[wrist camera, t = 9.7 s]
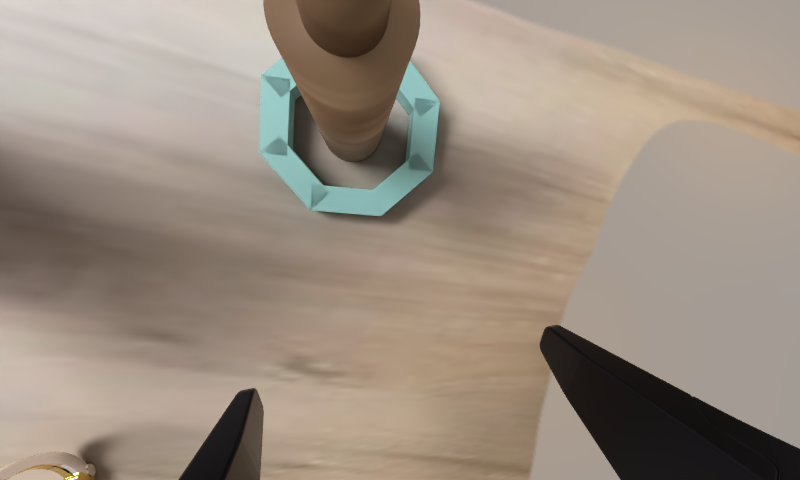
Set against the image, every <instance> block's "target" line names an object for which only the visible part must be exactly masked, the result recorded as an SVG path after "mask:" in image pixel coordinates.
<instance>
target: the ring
mask: <svg viewBox="0 0 800 480" xmlns="http://www.w3.org/2000/svg"><path fill="white" fill-rule="evenodd" d="M33 469H47V470H52V471H54V472H57V473H58V474H60V475H61V476H63V477H64V478H65V479H64V480H95V479H94V475H95V473H96V470H95V467H94V465H93V464H86V463H85V462H84V461H83V460H81V459H80V458H79V457H77V456H75V455H73V454H70V453H66V452H46V453H41V454H37V455H34V456H30V457H26V458H23V459H20V460H18V461H15V462H12V463H9V464H7V465H4V466H2V467H0V480H7V479H9V478H10V477H12V476H14V475H16V474H18V473H20V472H23V471H27V470H33Z"/></svg>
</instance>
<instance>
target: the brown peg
mask: <svg viewBox="0 0 800 480" xmlns="http://www.w3.org/2000/svg"><path fill="white" fill-rule="evenodd" d="M264 12H265V18H266V21H267V25H268V29H269V31H270V34H271V36H272V39H273V41H274V43H275V44H276V46H277V48H278V50H279V52H280V54H281V56H282V58H283V60H284V62H285V64H286V66H287V68H288V70H289V72H290V74H291V76H292V78H293V80H294V81H295V83H296V85H297V87H298V89H299V91H300V93H301V95H302V97H303V99H304V101H305V103H306V105H307V107H308V109H309V111H310V113H311V115H312V117H313V118H314V120H315V122H316V124H317V126H318V128H319V130H320V132H321V134H322V136H323V138H324V140H325V142H326V144H327V146H328V148H329V149H330V150H331V151H332V153H333V154H335V155H336V156H337V157H339V158H341V159H343V160H345V161H350V162H357V161H362V160H364V159H366V158H368V157H369V156H371V155H372V154H373V153H374V152H375V150H376V149H377V147H378V145H379V142H380V139H381V137H382V134H383V131H384V129H385V126H386V123H387V120H388V118H389V115H390V112H391V110H392V107H393V104H394V102H395V99H396V96H397V93H398V91H399V88H400V85H401V83H402V80H403V77H404V75H405V72H406V69H407V67H408V64H409V61H410V58H411V56H412V53H413V50H414V48H415V45H416V41H417V38H418V34H419V28H420V4H419V0H264Z"/></svg>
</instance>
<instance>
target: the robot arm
mask: <svg viewBox="0 0 800 480" xmlns="http://www.w3.org/2000/svg"><path fill="white" fill-rule="evenodd" d="M540 349H541V352H542V354H543V356H544V357H545V359H546V361H547V363H548V365H549V367H550V369H551V370H552V372H553V374H554V376H555V378H556V380H557V382H558V383H559V385H560V387H561V389H562V391H563V392H564V394H565V395H566V397H567V399H568V400H569V402H570V404H571V405H572V406H573V408H574V410H575V411H576V413H577V414H578V415H579V417H580V419H581V420H582V422H583V423H584V425H585V426H586V428H587V429H588V431H589V432H590V434H591V435H592V437H593V438H594V440H595V441H596V443H597V444H598V446H599V447H600V449H601V451H602V452H603V454H604V455H605V457H606V458H607V460H608V461H609V463H610V464H611V466H612V467H613V469H614V470H615V472H616V473H617V475H618V476H619V478H620V479H621V480H800V449H799V448H797V447H795V446H793V445H790V444H788V443H786V442H784V441H782V440H780V439H777V438H776V437H773V436H771V435H769V434H767V433H765V432H763V431H761V430H759V429H757V428H755V427H753V426H750V425H748V424H746V423H744V422H742V421H740V420H738V419H736V418H734V417H732V416H730V415H728V414H726V413H724V412H722V411H721V410H719V409H717V408H715V407H713V406H711V405H709V404H707V403H705V402H703V401H701V400H699V399H698V398H696V397H692V396H691V395H690V394H688V393H686V392H684V391H682V390H680V389H678V388H677V387H674V386H673V385H671V384H669V383H667V382H665V381H663V380H661V379H660V378H658V377H656V376H654V375H652V374H650V373H648V372H646V371H644V370H642V369H640V368H639V367H637V366H635V365H633V364H631V363H629V362H628V361H625V360H623V359H622V358H620V357H618V356H616V355H614V354H612V353H610V352H608V351H607V350H605V349H603V348H601V347H599V346H597V345H595V344H593V343H592V342H590V341H588V340H586V339H584V338H582V337H580V336H578V335H576V334H575V333H573V332H571V331H569V330H567V329H565V328H563V327H561V326H559V325H553V326H548V327H546V328H545V329H544V332H543V335H542V338H541V341H540ZM263 416H264V411H263V405H262V402H261V399H260V397H259V394H258V391H257V390H256V389H255V388H252V389H247V390H242V391H240V392H238V393H237V395H236V396H235V398H234V399H233V400H232V402H231V403H230V405H229V406H228V408H227V409H226V411H225V412H224V414H223V415H222V417H221V418H220V420H219V421H218V423H217V424H216V425H215V427H214V428H213V430H212V431H211V433H210V434H209V436H208V437H207V439H206V440H205V442H204V443H203V445H202V446H201V447H200V449H199V450H198V452H197V453H196V455H195V456H194V458H193V459H192V461H191V462H190V464H189V465H188V467H187V468H186V470H185V471H184V472H183V474H182V475H181V477H180V478H179V480H260V469H261V453H262V434H263Z"/></svg>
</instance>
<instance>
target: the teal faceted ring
mask: <svg viewBox="0 0 800 480" xmlns="http://www.w3.org/2000/svg"><path fill="white" fill-rule="evenodd" d="M300 96H301V93H300V91H299V89H298V87H297V85H296V83H295V81H294V80H293V78H292V76H291V74H290V72H289V70H288V68H287V66H286V64H285V62H284V60H283V58H281V59H280V60H279V61H278V62H276V63H275V64H274V65H273V66H272V67H270V68H269V69H268V70H267V71H265V72H264V73H263V74H262V75H261V102H260V131H259V154H260V155H261V156H262V157H263V158H264V159H265V161H266V162H267V163H268V164H269V165H270V166H271V167H272V168H273V169H274V171H275V172H276V173H277V174H278V175H279V176H280V177H281V178H282V179H283V181H284V182H285V183H286V184H287V185H288V186H289V187H290V188H291V189H292V191H293V192H294V193H295V194H296V195H297V196H298V197H299V198H300V199H301V201H302V202H303V203H304V204H305V205H306V206H307V207H308V208H309V210H313V211H325V212H337V213H349V214H361V215H373V216H382V215H383V214H384V213H385V212H386V211H388V210H389V209H390V208H391V207H392V206H393V205H395V204H396V203H397V202H398V201H399V200H401V199H402V198H403V197H404V196H405V195H406V194H408V193H409V192H410V191H411V190H412V189H413V188H415V187H416V186H417V185H418V184H419V183H420V182H422V181H423V180H424V179H425V178H426V177H428V176H429V175H430V174H431V173H432V172H433V164H434V154H435V144H436V134H437V124H438V114H439V104H440V101H439V99H438V98H437V97H436V95H435V94H434V93H433V91H432V90H431V88H430V87H429V86H428V84H427V83H426V82H425V80H424V79H423V77H422V76H421V75H420V73H419V72H418V71H417V69H416V68H415V66H414V65H413V64H412V62H411V61H409V64H408V67H407V69H406V72H405V75H404V77H403V80H402V83H401V85H400V88H399V91H398V93H397V96H396V99H397V100H398V101H399V103H400V104H401V105H402V107H403V108H404V109H405V111H406V112H407V113H408V115H409V116H410V117H409V128H408V139H407V150H406V162H405V163H404V164H403V165H402V166H400V167H399V168H398V169H397V170H396V171H395V172H393V173H392V174H391V175H390V176H389V177H387V178H386V179H385V180H384V181H383V182H382V183H380V184H379V185H378V186H377V187H376V188H374V189H373V190H366V189H356V188H345V187H335V186H325V185H323V183H322V182H321V181H320V180H319V179H318V178H317V177H316V175H315V174H314V173H313V172H312V171H311V170H310V169H309V167H308V166H307V165H306V164H305V163H304V162H303V160H302V159H301V158H300V157H299V156H298V155H297V154H296V152H295V151H294V150H293V139H294V118H295V100H296V99H297V98H299V97H300Z"/></svg>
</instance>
